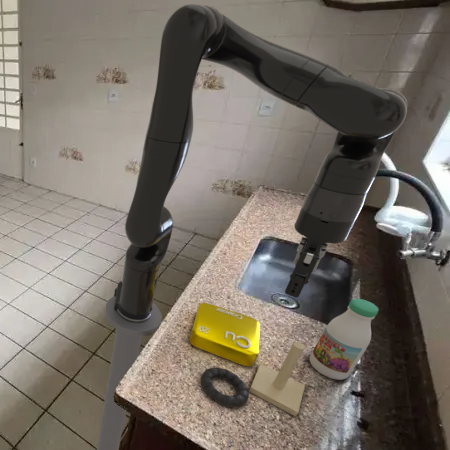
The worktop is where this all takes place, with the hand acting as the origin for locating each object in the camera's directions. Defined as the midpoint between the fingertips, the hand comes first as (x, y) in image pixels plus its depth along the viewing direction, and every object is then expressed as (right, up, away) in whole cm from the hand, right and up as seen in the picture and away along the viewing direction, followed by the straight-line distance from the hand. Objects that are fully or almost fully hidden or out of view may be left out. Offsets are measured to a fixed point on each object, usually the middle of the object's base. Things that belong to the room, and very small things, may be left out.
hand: (295, 284), depth 69 cm
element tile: (0, -19, +25) cm, 32 cm away
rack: (+4, -26, +11) cm, 29 cm away
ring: (-8, -25, +11) cm, 29 cm away
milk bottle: (+21, -23, +17) cm, 36 cm away
